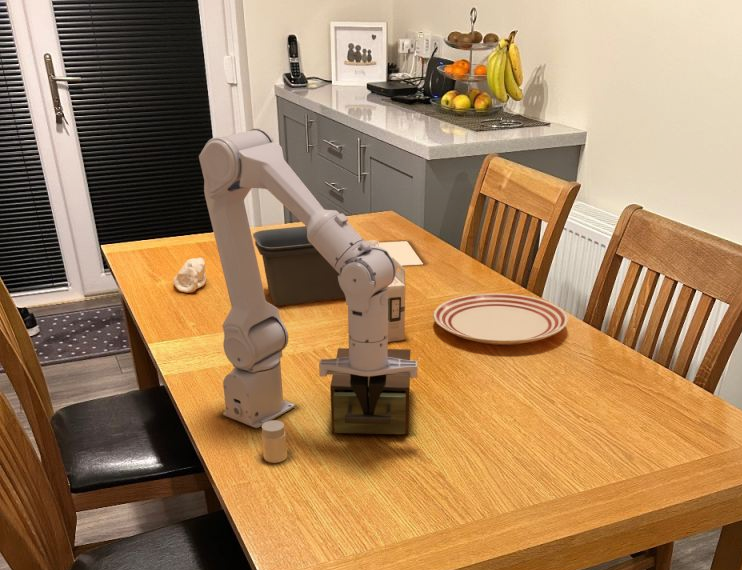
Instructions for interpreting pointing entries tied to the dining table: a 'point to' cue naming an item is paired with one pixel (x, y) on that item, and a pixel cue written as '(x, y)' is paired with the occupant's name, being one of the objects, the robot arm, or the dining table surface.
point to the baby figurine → (191, 275)
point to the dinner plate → (500, 318)
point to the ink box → (396, 305)
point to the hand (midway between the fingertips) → (369, 417)
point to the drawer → (382, 422)
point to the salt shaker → (274, 441)
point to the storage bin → (296, 267)
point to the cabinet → (391, 381)
